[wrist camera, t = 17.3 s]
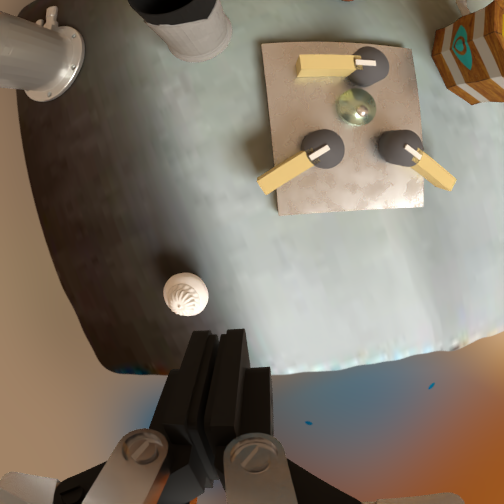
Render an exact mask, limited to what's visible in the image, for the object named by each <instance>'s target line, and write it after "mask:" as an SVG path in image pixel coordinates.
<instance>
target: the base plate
mask: <svg viewBox="0 0 504 504" xmlns="http://www.w3.org/2000/svg"><path fill="white" fill-rule="evenodd" d="M365 46H370V47H374V48H376V49H378V50H380V51H381V52H382V53H383V54H384V55H385V56H386V58H387V60H388V62H389V73H388V75H387V76H386V77H385V78H384V79H382V80H380V81H378V82H376V83H374V84H373V85H370V86H368V87H361V86H357V85H355V84H354V83H352V82H351V81H350V80H349V79H348V77H335V76H320V77H297V70H296V62H297V59H298V57H299V55H305V54H332V55H353V54H354V53H355V52H356V51H357V50H358V49H359V48H361V47H365ZM261 48H262V56H263V65H264V73H265V82H266V91H267V100H268V109H269V118H270V128H271V138H272V148H273V159H274V167H275V166H277V165H278V164H280V163H282V162H283V161H285V160H286V159H288V158H290V157H291V156H293V155H295V154H296V153H298V152H299V151H301V143H302V140H303V138H304V137H305V136H306V135H307V134H308V133H310V132H313V131H316V130H320V129H328V130H332V131H334V132H336V133H337V134H338V135H339V136H340V137H341V139H342V140H343V143H344V146H345V153H344V157H343V159H342V161H341V162H340V163H339V164H338V165H337V166H335V167H333V168H329V169H322V168H318V167H316V166H312V167H311V168H309V169H307V170H306V171H304V172H302V173H301V174H299V175H298V176H296V177H294V178H293V179H291V180H289V181H288V182H286V183H285V184H283V185H281V186H280V187H278V188H277V189H276V192H277V204H278V214H279V216H282V215H295V214H308V213H322V212H336V211H352V210H368V209H386V208H406V207H423V189H424V179H423V176H422V175H420V174H419V173H418V172H416V171H415V170H414V169H412V168H411V167H405V166H400V165H395V164H390V163H388V162H386V161H385V160H384V159H383V158H382V156H381V154H380V152H379V141H380V138H381V136H382V135H383V134H384V133H386V132H387V131H391V130H411V131H413V132H415V133H416V134H417V135H418V136H419V138H420V139H421V141H422V128H421V116H420V106H419V97H418V89H417V81H416V75H415V68H414V62H413V56H412V51H411V49H407V48H400V47H393V46H384V45H374V44H362V43H346V42H283V43H266V44H261Z"/></svg>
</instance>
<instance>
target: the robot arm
mask: <svg viewBox="0 0 504 504" xmlns="http://www.w3.org/2000/svg"><path fill="white" fill-rule="evenodd" d="M57 14H58V7H56V6H52V7H49V8H48V9H47V12H46V23H45V24H44V20H42V19H41V20H37V21H36V24H35V23H33V22H30V21H27V20H25V19H22V18H19V17H16V16H13V15H10V14H8V13H5V12H2V11H0V87H2V88H13V89H23V90H25V92H26V94H27V95H28V96H29V97H30V98H31V99H33V100H35V101H40V102H45V101H50V100H53V99H55V98H57V97H59V96H60V95H61V94H63V93H64V92H65V91H66V90H67V89H68V88H69V87H70V86H71V84H72V83H73V81H74V80H75V79H76V77H77V75H78V73H79V71H80V69H81V66H82V64H83V59H84V54H85V44H84V40H83V37H82V35H81V34H80V33H79V32H78V31H77V30H76V29H74V28H72V27H68V26H60V27H58V22H56V18H57ZM43 24H44V26H43ZM219 479H220V481H221V483H222V485H223V488H224V490H225V492H226V499H227V504H465V503H464V501H463V500H462V499H461V498H460V496H458V495H456V494H453V493H439V494H432V495H424V496H416V497H406V498H393V499H377V501H376V502H360V501H358V500H357V499H355V498H353V497H351V496H349V495H347V494H345V493H344V492H342V491H340V490H338V489H337V488H335V487H333V486H331V485H329V484H328V483H326V482H324V481H323V480H321V479H319V478H317V477H316V476H314V475H312V474H311V473H309V472H308V471H306V470H304V469H303V468H301V467H299V466H298V465H297V464H295V463H293V462H292V461H290V460H289V459H287V458H286V455H285V451H284V448H283V446H282V444H281V443H280V442H279V441H278V440H277V439H276V438H275V437H274V429H273V395H272V381H271V370H270V367H259V368H250V361H249V354H248V347H247V340H246V333H245V329H230V330H227V334H221V337H220V342H219V340H218V336H217V335H212V333H211V331H210V330H208V331H193V333H192V335H191V338H190V341H189V344H188V347H187V350H186V353H185V356H184V358H183V361H182V364H181V367H180V369H172V370H171V371H170V373H169V375H168V377H167V381H166V383H165V386H164V388H163V391H162V394H161V396H160V399H159V402H158V405H157V407H156V410H155V413H154V416H153V419H152V421H151V424H150V427H149V429H146V428H144V429H137V430H134V431H131V432H129V433H128V434H126V435H125V436H123V438H122V439H121V440H120V441H119V442H118V444H117V446H116V447H115V449H114V451H113V452H112V454H111V456H110V457H109V459H108V460H107V461H106V462H104V463H102V464H100V465H97V466H95V467H93V468H91V469H89V470H86V471H84V472H82V473H80V474H77V475H75V476H72V477H70V478H68V479H66V480H64V481H62V482H60V481H59V480H58V479H54V478H47V477H40V476H34V475H28V474H23V473H18V472H9V473H7V474H5V475H4V476H3V477H2V478H1V480H0V504H197V497H198V496H199V495H201V494H203V493H204V490H205V488H213V480H219Z"/></svg>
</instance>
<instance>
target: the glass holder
mask: <svg viewBox="0 0 504 504" xmlns="http://www.w3.org/2000/svg"><path fill="white" fill-rule="evenodd" d="M128 2H129V4H130V6H131V7H132V8H133V9H134V10H135V11H136V12H137V13H138V14H139V15H140V16H141V17H142V18H143V19H144V22H145V23H146V24H147V25H148V26H149V27H150V28H151V29H152V30H154V31H155V32H156V33H157V34H158V35H159V36H160V37H161V38H162V39H163V40H164V41H165V42H166V43H167V45H168V48H169V50H170V51H171V52H172V54H173V55H174V56H176V57H177V58H179V59H181V60H183V61H186V62H203V61H206V60H210V59H212V58H214V57H216V56H217V55H219V54H220V53H221V52H222V51H223V50H224V49H225V48H226V47H227V46H228V44H229V42H230V40H231V37H232V25H231V22H230V20H229V18H228V17H227V16H226V15H225V14H224V11H223V8H222V5H221V2H220V0H128Z"/></svg>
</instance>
